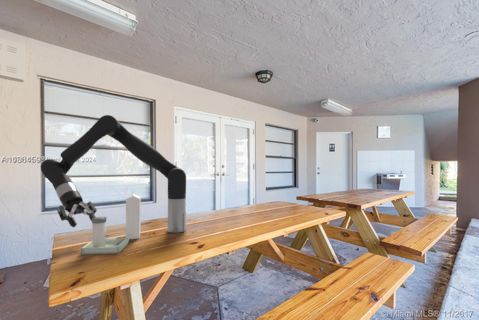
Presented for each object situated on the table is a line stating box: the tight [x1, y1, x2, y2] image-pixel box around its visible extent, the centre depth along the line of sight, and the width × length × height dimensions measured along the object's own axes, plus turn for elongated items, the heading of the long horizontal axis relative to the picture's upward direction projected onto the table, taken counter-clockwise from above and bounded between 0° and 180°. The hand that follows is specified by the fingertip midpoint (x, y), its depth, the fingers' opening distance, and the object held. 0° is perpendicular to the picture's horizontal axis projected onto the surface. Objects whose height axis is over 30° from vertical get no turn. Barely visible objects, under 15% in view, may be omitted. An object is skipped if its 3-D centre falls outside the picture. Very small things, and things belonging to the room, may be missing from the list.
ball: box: [115, 236, 123, 245], centre depth 105 cm, size 3×3×3 cm
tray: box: [80, 237, 130, 256], centre depth 102 cm, size 14×12×2 cm
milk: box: [125, 191, 142, 240], centre depth 118 cm, size 6×6×22 cm
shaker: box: [91, 216, 107, 247], centre depth 101 cm, size 5×5×12 cm
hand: (85, 223), depth 104 cm, fingers open, 8 cm apart
